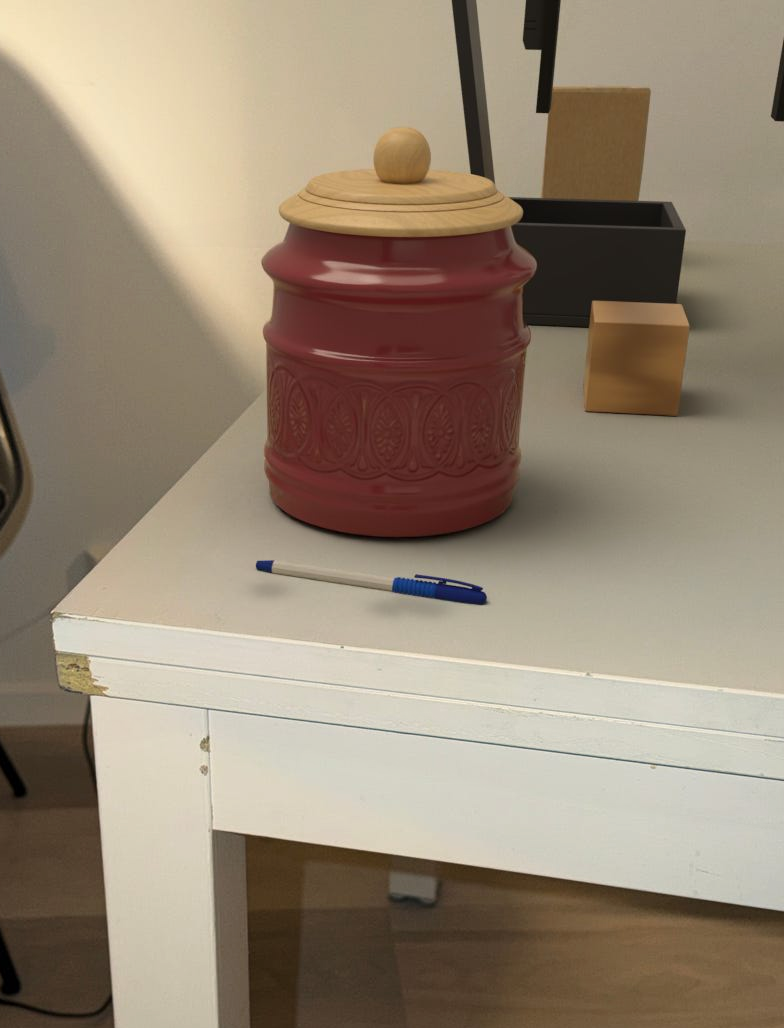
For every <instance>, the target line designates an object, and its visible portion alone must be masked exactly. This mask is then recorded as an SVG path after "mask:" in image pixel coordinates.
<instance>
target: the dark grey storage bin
mask: <svg viewBox="0 0 784 1028" xmlns="http://www.w3.org/2000/svg"><path fill="white" fill-rule="evenodd" d="M507 197H508V198H510V199H511V200H513V201H514V202H516V203H517V204H518V205H520V206H521V208H522V209H523V216H522V218H521V219H520V221H519V222H517V223H516V224H514V225H512V226H511V228H512V231H513V235H514V238H515V241H516V243H517V244H519V245H520V246H522V247H523V248H524V249H526V250H527V251H528V252H529V253H530V254H532V255H533V257H534V258H535V260H536V262H537V270H536V272H535V274H534V275H533V276H532V278H531V279H530V280H529V281H528V282H527V283H526V284H525V285H524V288H523V322H524V323H525V324H526V325H527V326H528V325H529V326H530V325H532V326H554V327H575V328H577V327H578V328H589V324H590V314H591V304H592V301H616V302H640V303H665V304H677V302H678V293H679V286H680V279H681V271H682V263H683V257H684V248H685V241H686V235H687V230H686V227H685V225H684V223H683V221H682V220H681V217H680V215H679V214H678V211H677V210H676V207H675V205H674V203H673V201H662V200H661V201H659V200H657V201H656V200H638V201H628V200H593V199H559V198H541V197H524V196H523V197H522V196H520V197H519V196H507Z"/></svg>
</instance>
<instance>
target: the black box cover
mask: <svg viewBox="0 0 784 1028" xmlns="http://www.w3.org/2000/svg"><path fill="white" fill-rule="evenodd" d="M451 8H452V16H453V17H452V19H453V25H454V36H455V43H456V52H457V53H456V54H457V64H458V73H459V81H460V91H461V99H462V100H461V101H462V108H463V109H462V110H463V116H464V117H463V118H464V127H465V135H466V145H467V146H466V147H467V154H468V163H469V164H468V165H469V172H470V173H469V174H473V175H477V176H481V177H484V178H487V179H489V180H491V181H492V182H493V183H494V185H495V186H496V180H495V178H496V177H495V171H494V169H495V168H494V160H493V150H492V140H491V132H490V131H491V130H490V121H489V112H488V102H487V101H488V100H487V91H486V82H485V73H484V61H483V54H482V53H483V52H482V42H481V31H480V24H479V13H478V5H477V0H451Z"/></svg>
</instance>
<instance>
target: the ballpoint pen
mask: <svg viewBox="0 0 784 1028" xmlns="http://www.w3.org/2000/svg"><path fill="white" fill-rule="evenodd" d="M255 569H257V570H260V571H264V572H267V573H271V574H276V575H282V576H289V577H294V578H295V577H296V578H303V579H310V580H314V581H315V580H316V581H322V582H328V583H335V584H341V585H349V586H355V587H361V588H362V587H363V588H369V589H376V590H382V591H389V592H394V593H397V594H403V595H409V596H410V595H412V596H417V597H423V598H424V597H425V598H430V599H437V600H442V601H449V602H455V603H456V602H457V603H463V604H473V605H484V604H486V602H487V600H488V596H487V593H486V592H485V591H483V590H484V587H483V586H479V585H476V584H472V583H471V582H470V583H469V582H466V581H461V580H457V579H451V578H447V577H446V578H445V577H439V576H438V577H437V576H432V575H424V574H417V573H416V574H415V575H414V576H413V577H414V578H408V577H407V578H405V577H401V576H398V577H391V576H385V575H379V574H371V573H366V572H365V573H364V572H358V571H351V570H345V569H338V568H331V567H323V566H317V565H311V564H305V563H297V562H296V563H295V562H290V561H283V560H277V559H272V560H270V559H269V560H268V559H266V560H256V563H255ZM419 579H420V580H419ZM421 579H423V580H421ZM425 579H426V580H425ZM427 580H432V581H427ZM435 581H438V582H435ZM447 583H451V584H447ZM453 584H455V585H453ZM456 584H457V585H456Z"/></svg>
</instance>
